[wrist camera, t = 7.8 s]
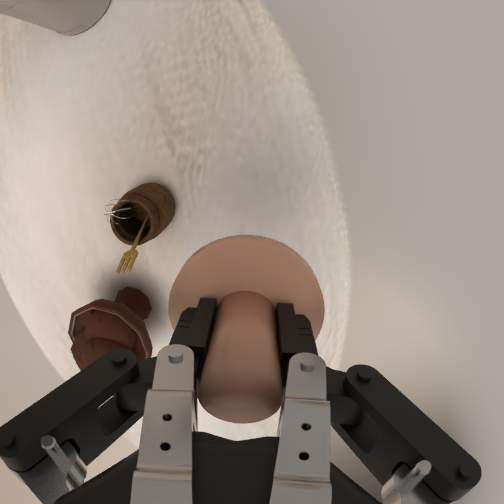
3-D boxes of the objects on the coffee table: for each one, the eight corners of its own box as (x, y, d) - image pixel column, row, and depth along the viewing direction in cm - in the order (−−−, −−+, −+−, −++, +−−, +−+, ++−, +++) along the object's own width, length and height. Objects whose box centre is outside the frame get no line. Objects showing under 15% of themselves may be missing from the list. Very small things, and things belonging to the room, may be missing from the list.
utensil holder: (169, 175, 35) (129, 197, 23) (182, 226, 37) (151, 267, 26) (125, 188, 35) (73, 214, 24) (139, 236, 37) (96, 278, 26)
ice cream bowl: (123, 253, 38) (66, 314, 24) (185, 309, 41) (156, 388, 27) (87, 298, 41) (35, 361, 27) (142, 347, 44) (108, 420, 30)
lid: (170, 230, 14) (116, 296, 8) (331, 240, 14) (374, 312, 8) (178, 355, 16) (151, 441, 11) (308, 363, 16) (323, 452, 11)
